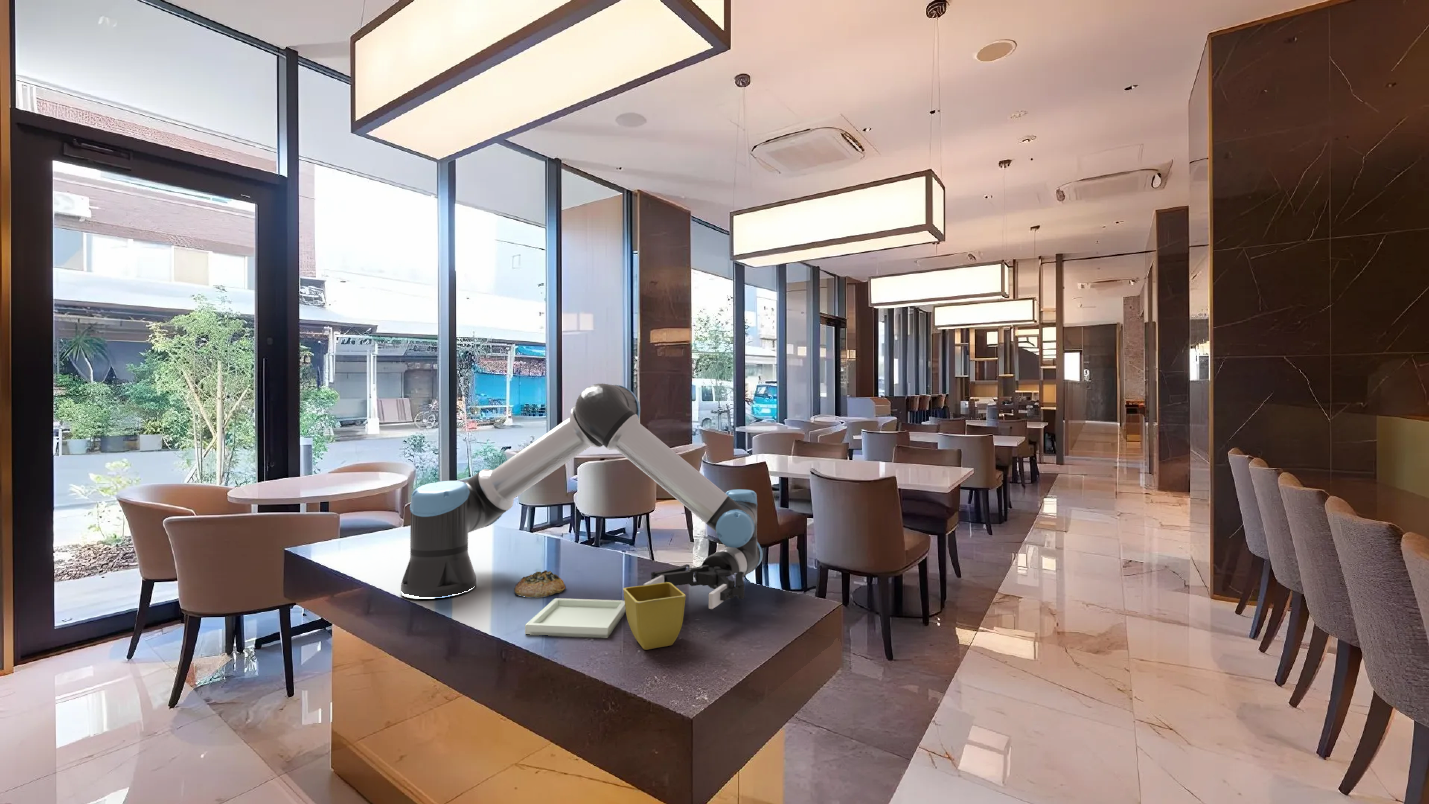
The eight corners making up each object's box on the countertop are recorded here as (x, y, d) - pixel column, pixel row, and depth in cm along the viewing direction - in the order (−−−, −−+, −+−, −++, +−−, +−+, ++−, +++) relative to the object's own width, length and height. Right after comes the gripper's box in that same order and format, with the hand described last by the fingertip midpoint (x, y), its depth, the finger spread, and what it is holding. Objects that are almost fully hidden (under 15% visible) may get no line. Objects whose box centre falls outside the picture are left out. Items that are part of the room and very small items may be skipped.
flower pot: (635, 657, 97) (636, 601, 97) (622, 638, 105) (622, 587, 105) (686, 649, 100) (686, 595, 100) (669, 631, 108) (669, 581, 108)
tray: (525, 634, 106) (525, 624, 106) (554, 607, 121) (555, 598, 121) (607, 638, 105) (607, 627, 105) (627, 609, 120) (627, 600, 120)
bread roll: (535, 580, 139) (537, 560, 139) (574, 593, 135) (577, 571, 135) (501, 596, 129) (504, 574, 129) (543, 610, 125) (546, 587, 125)
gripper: (778, 593, 124) (739, 627, 104) (673, 578, 134) (620, 607, 115) (778, 557, 124) (739, 584, 104) (673, 545, 134) (620, 567, 115)
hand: (676, 596), depth 110 cm, fingers open, 13 cm apart
